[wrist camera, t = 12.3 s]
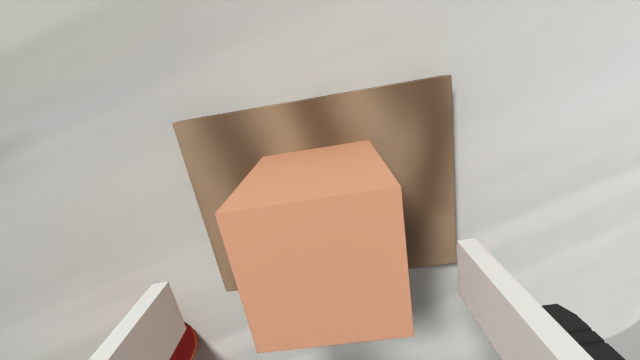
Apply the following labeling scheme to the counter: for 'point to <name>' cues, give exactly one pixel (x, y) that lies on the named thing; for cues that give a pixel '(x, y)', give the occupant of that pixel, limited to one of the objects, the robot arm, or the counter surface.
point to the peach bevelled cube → (319, 249)
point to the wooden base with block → (334, 129)
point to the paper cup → (186, 345)
